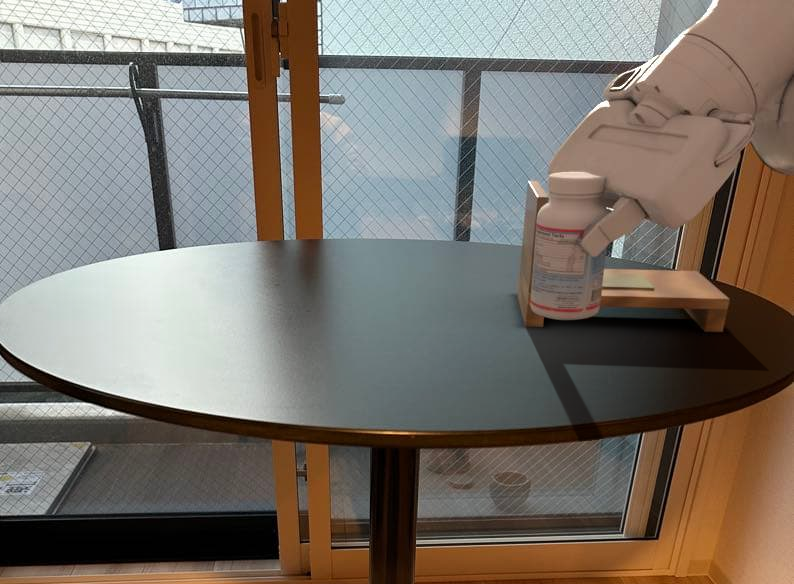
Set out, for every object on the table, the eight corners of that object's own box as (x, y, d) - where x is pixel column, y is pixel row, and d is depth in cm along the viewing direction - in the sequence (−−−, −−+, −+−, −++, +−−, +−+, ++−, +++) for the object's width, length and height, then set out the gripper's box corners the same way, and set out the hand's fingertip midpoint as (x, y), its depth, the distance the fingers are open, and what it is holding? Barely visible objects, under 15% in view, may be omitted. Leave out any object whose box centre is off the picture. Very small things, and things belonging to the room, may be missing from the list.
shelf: (691, 303, 102) (714, 183, 95) (722, 335, 90) (751, 201, 83) (517, 298, 103) (527, 180, 96) (524, 329, 91) (537, 196, 84)
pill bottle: (570, 300, 75) (584, 169, 69) (613, 316, 70) (631, 176, 65) (516, 308, 73) (525, 173, 67) (555, 325, 68) (569, 181, 62)
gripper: (788, 149, 58) (647, 295, 61) (642, 130, 75) (537, 245, 78) (749, 79, 55) (601, 237, 58) (605, 76, 72) (497, 198, 75)
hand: (563, 241), depth 68 cm, fingers closed on pill bottle, 6 cm apart
